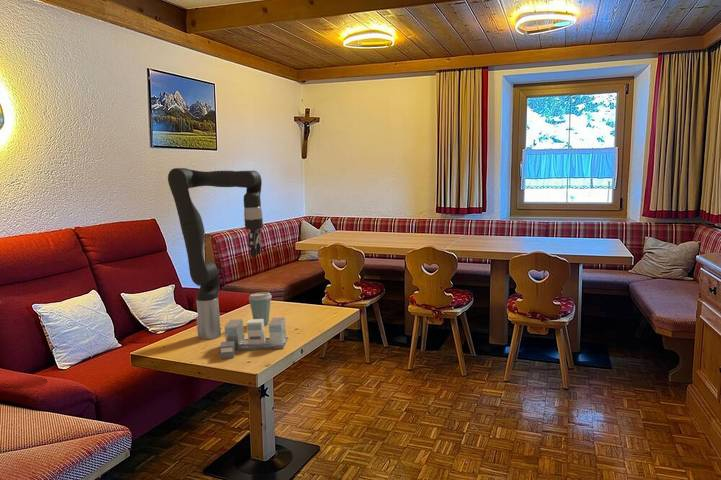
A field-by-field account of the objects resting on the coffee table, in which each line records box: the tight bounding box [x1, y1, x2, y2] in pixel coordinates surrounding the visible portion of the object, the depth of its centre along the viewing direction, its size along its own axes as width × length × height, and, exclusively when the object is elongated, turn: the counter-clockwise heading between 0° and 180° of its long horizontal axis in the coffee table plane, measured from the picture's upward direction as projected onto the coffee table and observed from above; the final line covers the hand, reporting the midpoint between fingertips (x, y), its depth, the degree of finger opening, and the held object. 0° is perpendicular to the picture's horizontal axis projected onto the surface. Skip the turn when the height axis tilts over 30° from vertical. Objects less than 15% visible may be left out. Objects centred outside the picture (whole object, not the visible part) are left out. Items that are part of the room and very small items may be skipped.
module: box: [246, 318, 266, 344], centre depth 224 cm, size 6×5×9 cm
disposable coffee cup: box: [248, 292, 273, 326], centre depth 254 cm, size 11×11×15 cm
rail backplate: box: [224, 317, 289, 352], centre depth 224 cm, size 24×12×10 cm, turn 89°
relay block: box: [219, 341, 236, 360], centre depth 212 cm, size 5×6×5 cm
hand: (256, 255), depth 230 cm, fingers open, 8 cm apart
